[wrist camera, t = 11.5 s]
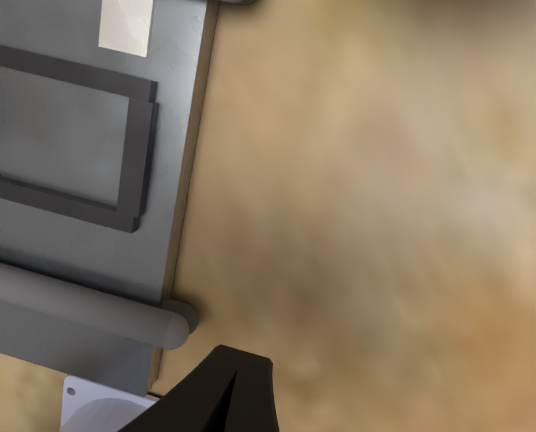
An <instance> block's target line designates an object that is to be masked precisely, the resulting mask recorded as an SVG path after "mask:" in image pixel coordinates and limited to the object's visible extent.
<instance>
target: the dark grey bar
mask: <svg viewBox="0 0 536 432" xmlns="http://www.w3.org/2000/svg"><path fill="white" fill-rule="evenodd" d="M0 300H1V301H4V302H7V303H11V304H14V305H17V306H21V307H24V308H28V309H31V310H34V311H38V312H41V313H44V314H48V315H51V316H55V317H58V318H61V319H65V320H68V321H71V322H75V323H78V324H82V325H85V326H88V327H92V328H95V329H98V330H102V331H105V332H109V333H112V334H115V335H119V336H122V337H125V338H129V339H132V340H136V341H139V342H142V343H146V344H149V345H152V346H156V347H159V348H163V349H167V350H173V349H176V348H178V347H180V346H181V345H183V344H184V343H185V341H186V340H187V338H188V335H190V334H191V333H192V332H193V331H194V330H195V329H196V327H197V325H198V320H199V318H198V313H197V311H196V310H195V308H194V307H193V306H191V305H189V304H187V303H183V302H180V301H176V300H173V299H169V298H167V299H165V301H164V302H163V304H162V305H161V307H160V308H156V307H153V306H149V305H146V304H142V303H139V302H135V301H132V300H128V299H125V298H121V297H118V296H114V295H111V294H107V293H104V292H100V291H97V290H93V289H90V288H86V287H83V286H80V285H76V284H73V283H69V282H66V281H62V280H59V279H55V278H52V277H48V276H45V275H41V274H38V273H34V272H31V271H27V270H24V269H20V268H17V267H13V266H10V265H6V264H3V263H0Z"/></svg>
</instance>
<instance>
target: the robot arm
mask: <svg viewBox="0 0 536 432" xmlns="http://www.w3.org/2000/svg"><path fill="white" fill-rule="evenodd" d="M272 369H273V363H272V362H271V360H270V359H269V358H266V357H262V356H259V355H256V354H252V353H249V352H245V351H242V350H238V349H235V348H231V347H228V346H224V345H219V346H217V347H215V348H214V349H213V350H212V352H211V353H210V354H209V355H208V356H207V357H206V358H205V359H204V360H203V361H202V362H201V363H200V364H199V365H198V366H197V367H196V368H195V369H194V370H193V371H192V372H191V373H190V374H189V375H187V376H186V377H185V378H184V379H183V380H182V381H181V382H179V383H178V384H177V385H176V386H175V387H174V388H173V389H171V390H170V391H169V392H168V393H167V394H166V395H164V396H163V397H162V398H161V399H160V398H157V397H154V396H150V395H146V396H145V397H141V396H138V395H135V394H132V393H128V392H125V391H122V390H119V389H115V388H112V387H109V386H106V385H102V384H99V383H96V382H93V381H90V380H86V379H83V378H80V377H77V376H73V375H70V374H69V375H68V376H67V377H66V378H65V379H64V387H63V399H62V411H61V423H60V430H59V431H58V432H279V426H278V421H277V416H276V409H275V403H274V394H273V382H272ZM72 388H73V389H74V390H73V389H72Z"/></svg>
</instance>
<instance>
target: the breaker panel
mask: <svg viewBox="0 0 536 432" xmlns="http://www.w3.org/2000/svg"><path fill="white" fill-rule="evenodd" d="M219 3H220V1H219V0H0V263H3V264H6V265H10V266H13V267H17V268H20V269H24V270H27V271H31V272H34V273H38V274H41V275H45V276H48V277H52V278H55V279H59V280H62V281H66V282H69V283H73V284H76V285H80V286H83V287H86V288H90V289H93V290H97V291H100V292H104V293H107V294H111V295H114V296H118V297H121V298H125V299H128V300H132V301H135V302H139V303H142V304H146V305H149V306H153V307H156V308H160V307H161V305H162V304H163V302H164V301H165V299H167V298H169V299H170V298H171V292H172V286H173V280H174V274H175V268H176V262H177V255H178V249H179V243H180V237H181V231H182V225H183V219H184V213H185V207H186V201H187V195H188V189H189V183H190V177H191V171H192V165H193V159H194V153H195V147H196V141H197V135H198V129H199V123H200V117H201V111H202V105H203V99H204V93H205V87H206V81H207V75H208V69H209V63H210V57H211V51H212V45H213V39H214V33H215V27H216V21H217V15H218V9H219ZM161 352H162V348H159V347H156V346H152V345H149V344H146V343H142V342H139V341H136V340H132V339H129V338H125V337H122V336H119V335H115V334H112V333H109V332H105V331H102V330H98V329H95V328H92V327H88V326H85V325H82V324H78V323H75V322H71V321H68V320H65V319H61V318H58V317H55V316H51V315H48V314H44V313H41V312H38V311H34V310H31V309H28V308H24V307H21V306H17V305H14V304H11V303H7V302H4V301H1V300H0V353H2V354H5V355H9V356H12V357H15V358H18V359H22V360H25V361H28V362H31V363H34V364H38V365H41V366H44V367H47V368H51V369H54V370H57V371H60V372H64V373H67V374H70V375H73V376H77V377H80V378H83V379H86V380H90V381H93V382H96V383H99V384H102V385H106V386H109V387H112V388H115V389H119V390H122V391H125V392H128V393H132V394H135V395H138V396H141V397H145V396H146V395H147V393H148V392H149V390H150V389H151V387H152V385H153V384H154V382H155V381H156V379H157V376H158V370H159V364H160V358H161Z"/></svg>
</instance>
